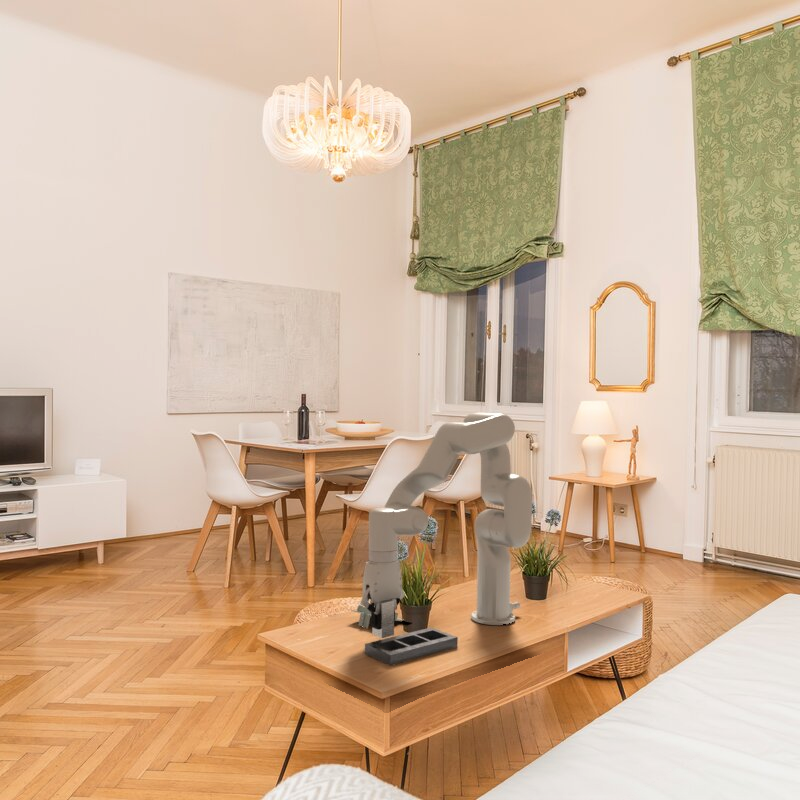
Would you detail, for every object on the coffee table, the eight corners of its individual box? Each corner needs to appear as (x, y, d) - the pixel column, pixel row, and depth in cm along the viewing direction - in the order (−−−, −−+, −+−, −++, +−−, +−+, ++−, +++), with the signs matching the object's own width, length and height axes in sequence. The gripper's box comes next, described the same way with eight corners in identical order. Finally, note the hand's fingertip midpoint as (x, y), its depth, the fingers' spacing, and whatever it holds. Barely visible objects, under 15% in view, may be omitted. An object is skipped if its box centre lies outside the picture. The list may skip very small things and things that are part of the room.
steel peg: (384, 631, 190) (384, 597, 190) (393, 635, 187) (393, 600, 187) (372, 634, 188) (372, 599, 188) (381, 638, 185) (381, 603, 185)
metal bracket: (384, 612, 194) (345, 601, 204) (380, 634, 193) (340, 622, 203) (416, 616, 205) (377, 606, 214) (412, 637, 204) (373, 626, 213)
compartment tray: (431, 636, 192) (431, 627, 192) (457, 647, 184) (457, 637, 184) (364, 653, 178) (365, 643, 178) (390, 665, 170) (390, 655, 170)
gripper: (398, 549, 196) (398, 616, 196) (348, 558, 185) (348, 629, 185) (416, 554, 190) (416, 623, 190) (366, 563, 179) (366, 637, 179)
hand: (383, 625), depth 187 cm, fingers closed on steel peg, 4 cm apart
